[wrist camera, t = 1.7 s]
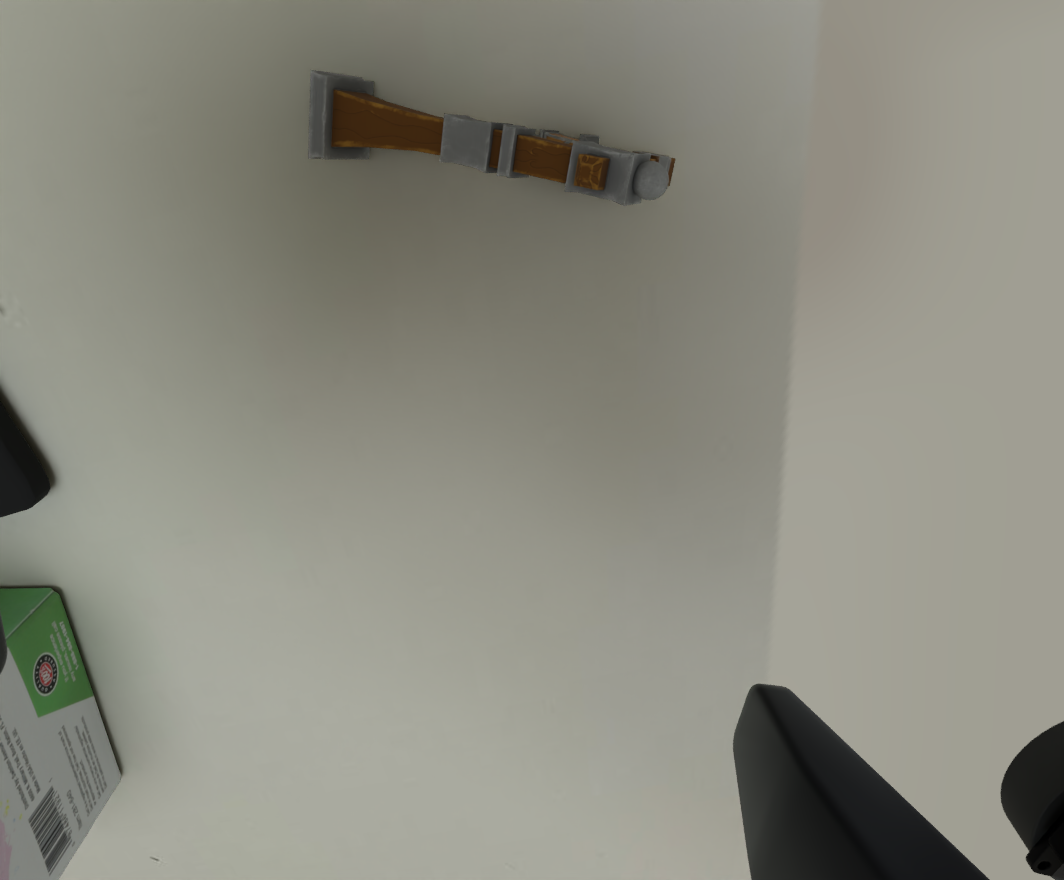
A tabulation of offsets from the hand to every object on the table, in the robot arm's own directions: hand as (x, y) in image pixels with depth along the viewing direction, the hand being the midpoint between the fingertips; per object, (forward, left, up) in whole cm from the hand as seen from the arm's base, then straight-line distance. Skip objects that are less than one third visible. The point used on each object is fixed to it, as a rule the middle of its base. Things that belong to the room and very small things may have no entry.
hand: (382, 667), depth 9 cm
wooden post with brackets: (+1, -5, -13) cm, 14 cm away
